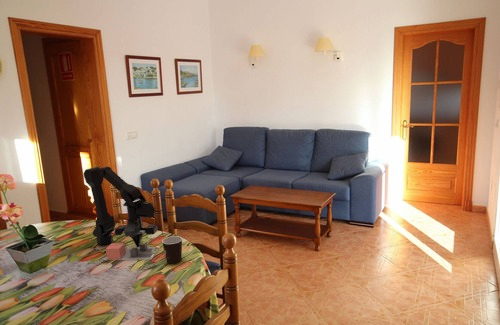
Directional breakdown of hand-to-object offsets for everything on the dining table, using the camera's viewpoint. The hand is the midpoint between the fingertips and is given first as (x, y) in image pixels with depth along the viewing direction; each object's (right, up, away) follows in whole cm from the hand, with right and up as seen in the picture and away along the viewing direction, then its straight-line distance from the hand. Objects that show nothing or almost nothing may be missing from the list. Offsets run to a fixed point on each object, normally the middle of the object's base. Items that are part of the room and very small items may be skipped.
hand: (138, 246), depth 177 cm
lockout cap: (-8, -3, -5) cm, 10 cm away
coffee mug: (+19, -4, -8) cm, 21 cm away
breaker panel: (-2, -4, -2) cm, 4 cm away
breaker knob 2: (+2, -1, 0) cm, 3 cm away
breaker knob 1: (0, -2, -5) cm, 6 cm away
